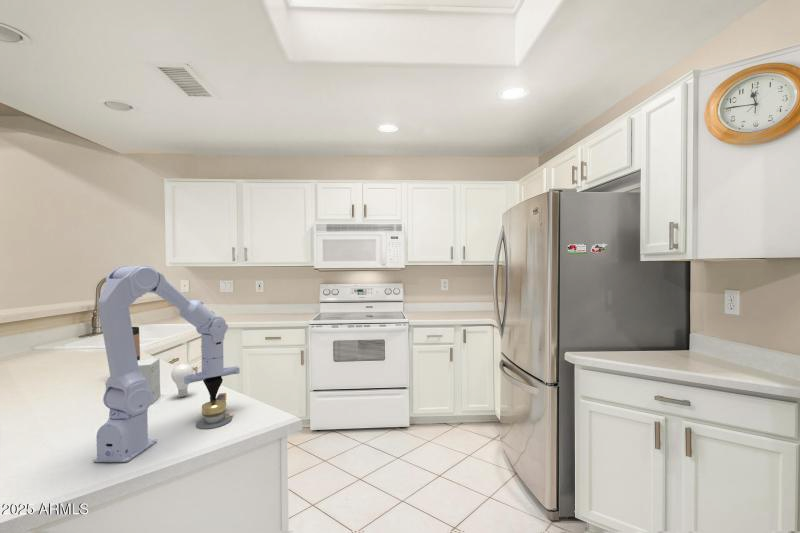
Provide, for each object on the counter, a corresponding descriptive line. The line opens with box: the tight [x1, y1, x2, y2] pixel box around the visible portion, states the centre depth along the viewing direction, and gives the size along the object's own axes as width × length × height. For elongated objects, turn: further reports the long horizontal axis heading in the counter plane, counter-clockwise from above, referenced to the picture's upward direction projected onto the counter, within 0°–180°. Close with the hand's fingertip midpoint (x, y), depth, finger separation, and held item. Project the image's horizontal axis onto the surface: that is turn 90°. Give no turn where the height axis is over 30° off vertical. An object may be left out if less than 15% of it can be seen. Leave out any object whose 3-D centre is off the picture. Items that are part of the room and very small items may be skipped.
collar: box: [201, 392, 227, 418], centre depth 101 cm, size 12×6×2 cm, turn 13°
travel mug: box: [132, 326, 141, 361], centre depth 139 cm, size 8×8×20 cm
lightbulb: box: [170, 363, 194, 398], centre depth 118 cm, size 6×6×11 cm
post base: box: [195, 413, 235, 430], centre depth 98 cm, size 9×9×2 cm
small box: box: [138, 358, 161, 405], centre depth 114 cm, size 8×6×13 cm
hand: (213, 402), depth 103 cm, fingers closed, pressing on collar
